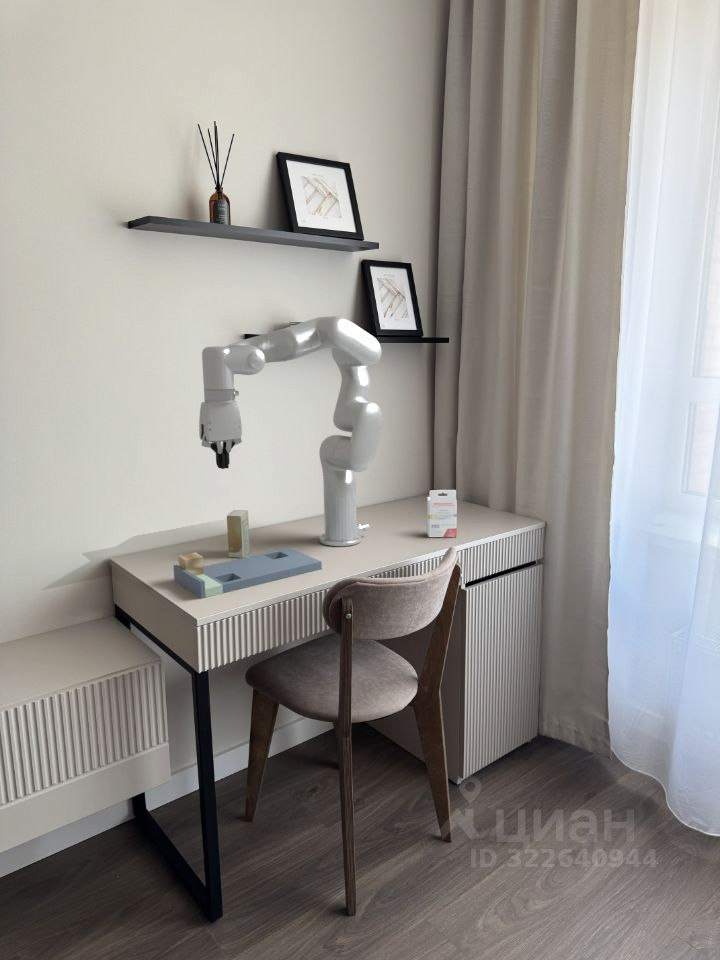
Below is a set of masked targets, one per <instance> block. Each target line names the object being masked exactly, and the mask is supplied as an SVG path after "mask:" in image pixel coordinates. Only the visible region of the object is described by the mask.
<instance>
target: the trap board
mask: <svg viewBox="0 0 720 960" xmlns="http://www.w3.org/2000/svg"><path fill="white" fill-rule="evenodd" d="M322 565H323V564H322V561H321V560H319V559H317V558H314V557H312V556H309V555H307V554H305V553H303V552H301V551H297V550H295V549H294V548H290V547H287V548H283V549H277V550H273V551H269V552H264V553H259V554H255V555H250V556H245V557H244V558H236V559H232V560H227V561H222V562H218V563H212V564H209V565H205V566H204V565H203V571H204V574H201V575H197V576H195V575H194V574H192V573H190V572H189V571H187V570H185V569H184V568H182V567H180V566H179V564H174V565H173V580H174V582H176V583H178V584H179V585H181V586H182V587H184V588H185V589H186V590H188V591H190V592H191V593H193V594H194V595H196V596H198V597H199V598H201V599H205V598H208V597H212V596H217V595H221V594H225V593H229V592H233V591H237V590H241V589H246V588H249V587H250V588H251V587H254V586H257V585H262V584H266V583H270V582H274V581H278V580H282V579H287V578H290V577H294V576H299V575H303V574H306V573H307V574H308V573H310V572H315V571H319V570H322V569H323V568H322V567H323V566H322Z"/></svg>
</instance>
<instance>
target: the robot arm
mask: <svg viewBox="0 0 720 960" xmlns="http://www.w3.org/2000/svg"><path fill="white" fill-rule="evenodd" d="M324 349H330V350H331V356H332V358H333V361H334V362H335V363H336V366H337V367H338V369H339V372H340V376H341V383H340V388H339V389H340V390H339V393H338V396H337V401H336V403H335V406H334V407H335V408H334V412H333V418H332V420H333V426H335V428H337V429H338V430H339V431H342V432H347V433H351V436H348V435H342V434H333V435H330V436H327V437H326V438H325V439H324V440H323V441H322V442H321V444H320V447H319V461H320V464H321V470H322V479H323V516H324V517H323V518H324V519H323V521H324V523H323V525H324V533H322V534H321V535H319V542H320V543H321V544H322V545H326V546H331V547H347V546H354V545H357V544H359V543H361V542H362V540H363V537H362V535H361V534H360V533H362V532H366V531H369V530H370V529H371V528H370V525H369V524H368V523H367V524H362V525H361V523H357V482H356V481H357V480H356V476H355V473H362V472H364V471H366V470H368V469H369V468H370V467H371V465H372V464H373V461H374V458H375V456H376V452H377V449H378V446H379V445H378V444H379V441H380V437H381V433H382V428H383V423H384V418H383V417H384V416H383V412H382V409H381V407H380V406H379V405H378V404H377V403H376V402H374V401H370V400H369V395H370V390H371V378H370V374H369V371H368V369H367V368H371V367H373V366H375V365H377V364H378V363H379V361H380V359H382V358H381V357H382V352H383V351H382V347H381V344H380V342H379V341H378V340H377V338H376V337H375V336H374V335H372V334H370V333H369V332H367V331H366V330H364V329H363V328H361V327H360V326H359V325H357V324H356V323H354V322H353V321H350V320H349V319H347V318H345V317H342V316H338V315H336V316H319V317H314V318H312V319H309V320H307V321H302V322H301V323H297V324H295V325H291V326H288V327H284V328H282V329H278V330H274V331H270V332H268V333H264V334H261V335H256V336H252V337H249V338H246V339H243V340H239V341H237V342H234V343H230V344H227V345H226V346H207V347H204V348H203V349H202V350H201V351H202V352H201V361H202V378H203V379H202V381H203V382H202V383H203V395H204V396H203V397H204V401H202V402H201V404H200V408H199V416H198V417H199V421H198V424H199V425H198V431H199V433H198V435H199V436H198V437H199V439H200V440H201V447H204V448H210V449H211V450H212V451H213V452H214V453H215V462H216V466H217V468H218V469H222V470H224V469H229V467H230V466H229V465H230V453H231V451H232V450H233V448H234V446H237V445H239V444H241V443H242V433H243V429H242V426H243V425H242V418H241V412H240V407H239V403H238V401H237V400H236V397H238V396H239V395H240V392H239V390H236V389H235V380H234V379H235V377H234V375H243V376H253V375H257V374H259V373H260V372H261V371H262V370H263V369H264V367H265V365H266V364H268V363H277V362H287V361H293V360H297V359H299V358H302V357H304V356H306V355H309V354H312V353H315V352H318V351H321V350H324Z"/></svg>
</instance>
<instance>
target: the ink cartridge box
mask: <svg viewBox="0 0 720 960" xmlns="http://www.w3.org/2000/svg"><path fill="white" fill-rule="evenodd" d="M428 493H429V496H427V499H426V502H427V503H426V506H427V507H426V508H427V509H426V513H427V514H426V521H427V522H426V523H427V525H426V527H427V528H426V530H427V531H426V533H427V536H428V538H429V537H452V536H458V531H457V529H458V528H457V527H458V525H457V524H458V520H457V519H458V517H457V516H458V504H457V503H458V500H457V490H456V489H437V490H436V489H435V490H433V489H432V490H429V492H428ZM442 494H444V495H442Z"/></svg>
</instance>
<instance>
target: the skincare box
mask: <svg viewBox="0 0 720 960" xmlns="http://www.w3.org/2000/svg"><path fill="white" fill-rule="evenodd" d="M226 527H227V529H226V530H227V543H228V546H227V548H228V558H236V559H240V558H245V557H247V555H248V554H249V553H250V552H251V547H250V526H249V510H245V509H244V510H243V509H239V510H237V509H233V510H232V511H231V512H229V513H228V514H227V515H226Z"/></svg>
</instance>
